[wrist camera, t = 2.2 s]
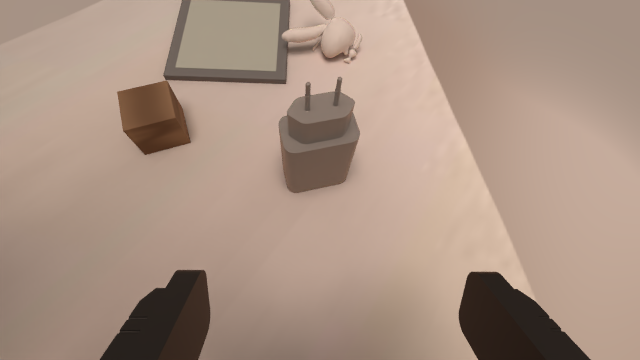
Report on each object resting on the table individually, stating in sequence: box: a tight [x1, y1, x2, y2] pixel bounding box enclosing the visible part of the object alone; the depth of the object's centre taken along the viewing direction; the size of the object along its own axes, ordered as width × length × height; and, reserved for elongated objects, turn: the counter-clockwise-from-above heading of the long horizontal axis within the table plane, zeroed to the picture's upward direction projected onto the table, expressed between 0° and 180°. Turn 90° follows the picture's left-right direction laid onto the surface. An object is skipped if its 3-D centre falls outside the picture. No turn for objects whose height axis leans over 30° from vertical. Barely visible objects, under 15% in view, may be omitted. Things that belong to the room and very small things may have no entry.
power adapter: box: [279, 77, 360, 193], centre depth 23 cm, size 3×5×12 cm, turn 104°
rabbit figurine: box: [282, 0, 362, 63], centre depth 33 cm, size 6×4×8 cm
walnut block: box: [117, 81, 191, 155], centre depth 28 cm, size 4×4×4 cm
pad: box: [163, 0, 290, 84], centre depth 34 cm, size 12×12×1 cm
